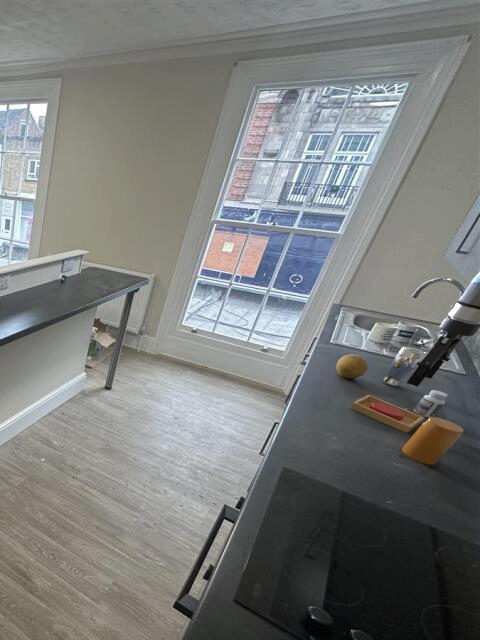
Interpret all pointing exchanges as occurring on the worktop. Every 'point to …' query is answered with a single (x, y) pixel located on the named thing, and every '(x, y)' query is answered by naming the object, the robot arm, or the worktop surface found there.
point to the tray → (403, 425)
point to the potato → (351, 366)
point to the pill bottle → (431, 404)
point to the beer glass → (403, 365)
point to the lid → (387, 410)
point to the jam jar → (432, 440)
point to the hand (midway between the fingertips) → (418, 380)
